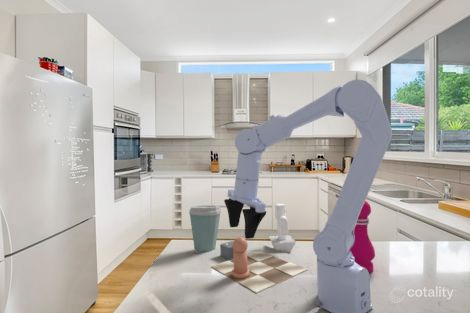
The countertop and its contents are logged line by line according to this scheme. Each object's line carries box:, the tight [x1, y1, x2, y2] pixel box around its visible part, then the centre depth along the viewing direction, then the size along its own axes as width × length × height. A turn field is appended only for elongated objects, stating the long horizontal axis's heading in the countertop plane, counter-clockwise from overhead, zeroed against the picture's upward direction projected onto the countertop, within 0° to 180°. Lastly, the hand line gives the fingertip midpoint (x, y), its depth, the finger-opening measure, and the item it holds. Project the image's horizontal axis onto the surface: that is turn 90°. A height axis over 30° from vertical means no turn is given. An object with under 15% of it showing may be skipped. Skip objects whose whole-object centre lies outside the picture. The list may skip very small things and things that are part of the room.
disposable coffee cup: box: [188, 204, 222, 254], centre depth 85 cm, size 11×11×15 cm
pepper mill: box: [350, 200, 376, 274], centre depth 69 cm, size 7×7×20 cm
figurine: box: [268, 203, 297, 253], centre depth 84 cm, size 7×9×15 cm
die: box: [219, 240, 234, 261], centre depth 77 cm, size 4×4×5 cm
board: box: [210, 250, 309, 294], centre depth 68 cm, size 18×18×1 cm
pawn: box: [232, 236, 250, 279], centre depth 64 cm, size 4×4×9 cm
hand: (241, 232), depth 65 cm, fingers open, 7 cm apart
